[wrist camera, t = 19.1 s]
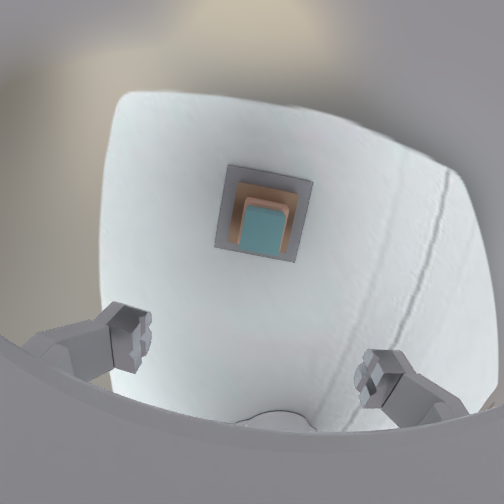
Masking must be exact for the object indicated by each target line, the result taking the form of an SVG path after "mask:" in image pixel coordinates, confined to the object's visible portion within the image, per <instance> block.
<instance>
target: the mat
mask: <svg viewBox="0 0 504 504" xmlns="http://www.w3.org/2000/svg"><path fill="white" fill-rule="evenodd" d="M238 182H245V183H250V184H255V185H260V186H265V187H270V188H275V189H280V190H285V191H290V192H294V193H297V194H299V198H298V203H297V207H296V212H295V216H294V221H293V225H292V230H291V234H290V238H289V243H288V247H287V251H286V253H282V252H279V254H278V256H274V255H268V254H263V253H257V252H252V251H246V250H241V249H239V244H236V243H231V242H227V240H228V235H229V229H230V223H231V217H232V212H233V206H234V201H235V195H236V190H237V184H238ZM312 185H313V182H310V181H305V180H301V179H297V178H292V177H287V176H283V175H278V174H273V173H268V172H263V171H258V170H253V169H247V168H242V167H236V166H230V165H228V169H227V175H226V180H225V186H224V191H223V197H222V203H221V209H220V215H219V221H218V227H217V233H216V239H215V245H214V247H216V248H221V249H227V250H232V251H237V252H242V253H247V254H252V255H257V256H263V257H268V258H273V259H278V260H283V261H288V262H294V263H295V259H296V255H297V251H298V247H299V243H300V238H301V234H302V230H303V226H304V221H305V217H306V213H307V208H308V204H309V199H310V195H311V190H312Z"/></svg>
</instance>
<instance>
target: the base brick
mask: <svg viewBox="0 0 504 504" xmlns="http://www.w3.org/2000/svg"><path fill="white" fill-rule="evenodd" d="M247 197H252V198H257V199H263V200H268V201H273V202H277V203H282V204H286V205H287V207H288V208H289V214H288V218H287V223H286V227H285V232H284V236H283V241H282V245H281V249H280V252H282V253H286V251H287V247H288V243H289V238H290V234H291V230H292V225H293V221H294V216H295V212H296V207H297V203H298V198H299V194H297V193H294V192H290V191H285V190H280V189H275V188H270V187H265V186H260V185H255V184H250V183H245V182H238V184H237V190H236V195H235V201H234V206H233V212H232V217H231V223H230V229H229V235H228V240H227V242H231V243H236V244H237V241H238V236H239V230H240V225H241V220H242V214H243V209H244V204H245V200H246V198H247Z"/></svg>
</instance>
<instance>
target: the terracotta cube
mask: <svg viewBox="0 0 504 504" xmlns="http://www.w3.org/2000/svg"><path fill="white" fill-rule="evenodd" d="M248 205H251V206H256V207H262V208H267V209H272V210H278V211H283V212H284V214H285V216H286V221H285V226H284V231H283V236H284V232H285V227H286V223H287V218H288V214H289V208H288V207H287V205H286V204H282V203H277V202H273V201H268V200H263V199H257V198H252V197H247V198H246V200H245V204H244V209H243V214H242V220H241V225H240V230H239V236H238V241H237V244H240V239H241V233H242V227H243V222H244V216H245V210H246V208H247V206H248ZM283 236H282V240H281V245H282V241H283ZM281 245H280V249H281ZM279 252H280V250H279Z"/></svg>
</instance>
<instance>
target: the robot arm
mask: <svg viewBox="0 0 504 504" xmlns="http://www.w3.org/2000/svg"><path fill="white" fill-rule="evenodd" d="M151 323H152V314H151V312H150V311H146V310H143V309H139V308H136V307H133V306H129V305H126V304H123V303H119V302H116V301H114V302H112V303H111V304H110V305H109V306H108V307H107V308H105V309H104V310H103V311H102V312H101V313H100V314H99V315H98V317H96V318H95V319H94V320H93V321H92V320H86V321H82V322H78V323H74V324H70V325H66V326H62V327H58V328H54V329H50V330H46V331H42V332H38V333H36V334H35V335H34V336H33V337H32V338H30V339H29V340H28V341H27V342H26V343H25V344H24V345H23V346H22V347H19V346H17V345H16V344H14V343H12V342H11V341H9V340H8V339H6V338H4V337H3V336H2V335H0V504H504V404H503V405H500V406H497V407H494V408H491V409H488V410H484V411H481V412H478V413H474V414H469V413H468V411H467V410H466V408H465V406H464V405H463V403H462V402H461V400H460V399H459V398H457V397H456V396H454V395H453V394H451V393H449V392H448V391H446V390H445V389H443V388H441V387H440V386H438V385H437V384H435V383H433V382H432V381H430V380H429V379H427V378H425V377H424V376H422V375H421V374H416V372H415V371H414V369H413V367H412V366H411V364H410V363H409V361H408V360H407V358H406V357H405V355H404V354H403V352H402V351H400V350H375V349H367V350H366V352H365V353H364V355H363V357H362V358H363V363H362V364H360V365H359V366H358V367H357V369H356V372H355V375H354V385H355V388H356V389H357V390H358V391H359V392H360V395H359V399H360V402H361V405H362V407H363V408H381V410H382V411H383V412H384V413H385V414H386V415H387V416H388V417H389V418H390V419H391V420H392V421H393V422H394V423H395V424H396V425H397V426H398V427H399V428H397V429H388V430H376V431H360V432H316V429H315V428H313V427H311V426H310V425H309V424H308V422H307V420H306V419H305V418H303V417H302V416H300V415H298V414H295V413H291V412H283V411H276V412H268V413H263V414H260V415H257V416H255V417H253V418H252V419H250V420H246V421H241V422H238V423H236V425H235V424H229V423H223V422H217V421H212V420H207V419H202V418H198V417H193V416H189V415H185V414H181V413H177V412H173V411H169V410H166V409H162V408H158V407H155V406H152V405H148V404H145V403H142V402H139V401H136V400H133V399H130V398H127V397H124V396H121V395H119V394H116V393H113V392H111V391H108V390H105V389H103V388H100V387H98V386H96V385H93V384H91V383H88V382H89V381H91V380H93V379H95V378H97V377H98V376H100V375H102V374H104V373H106V372H108V371H110V370H112V369H114V368H117V369H120V370H124V371H127V372H130V373H134V374H135V373H136V372H137V370H138V368H139V367H140V365H141V363H142V357H143V356H146V354H147V353H148V351H149V348H150V345H151V339H152V332H151V330H150V329H149V326H150V324H151Z"/></svg>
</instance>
